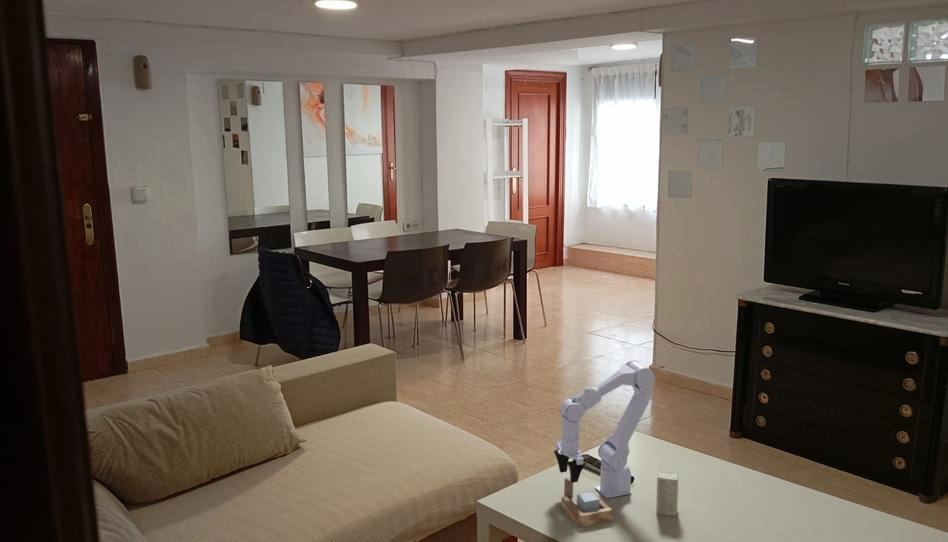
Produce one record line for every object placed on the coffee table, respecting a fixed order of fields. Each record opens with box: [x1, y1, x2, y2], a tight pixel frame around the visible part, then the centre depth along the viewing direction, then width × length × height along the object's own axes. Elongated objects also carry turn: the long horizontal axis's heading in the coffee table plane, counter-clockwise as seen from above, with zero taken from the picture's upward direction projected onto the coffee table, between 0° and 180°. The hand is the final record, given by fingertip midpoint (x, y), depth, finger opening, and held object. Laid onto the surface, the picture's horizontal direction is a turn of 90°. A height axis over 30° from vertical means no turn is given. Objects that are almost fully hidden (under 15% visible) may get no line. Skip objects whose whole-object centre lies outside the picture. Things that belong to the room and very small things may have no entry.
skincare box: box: [655, 471, 679, 517], centre depth 237 cm, size 6×4×12 cm
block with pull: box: [563, 477, 600, 513], centre depth 241 cm, size 5×16×6 cm, turn 21°
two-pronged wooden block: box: [560, 491, 614, 527], centre depth 236 cm, size 11×13×4 cm
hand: (568, 476), depth 246 cm, fingers open, 7 cm apart
